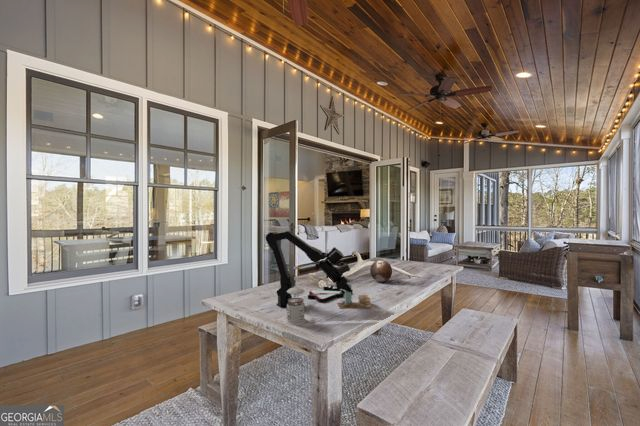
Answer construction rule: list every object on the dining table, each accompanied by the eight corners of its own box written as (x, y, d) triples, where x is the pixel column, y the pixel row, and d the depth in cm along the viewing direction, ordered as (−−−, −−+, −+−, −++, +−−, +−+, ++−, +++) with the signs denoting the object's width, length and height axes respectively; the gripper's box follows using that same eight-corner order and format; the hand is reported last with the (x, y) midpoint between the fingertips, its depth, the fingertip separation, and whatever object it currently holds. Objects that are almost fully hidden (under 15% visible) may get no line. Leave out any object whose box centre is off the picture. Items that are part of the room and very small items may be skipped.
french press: (284, 325, 134) (284, 268, 133) (285, 316, 145) (285, 263, 145) (306, 325, 134) (306, 268, 134) (306, 315, 146) (306, 263, 145)
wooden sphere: (370, 283, 207) (370, 261, 207) (369, 278, 222) (369, 258, 222) (393, 284, 205) (393, 262, 205) (391, 279, 220) (391, 258, 219)
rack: (339, 311, 152) (339, 300, 152) (337, 305, 162) (337, 294, 162) (371, 310, 153) (371, 299, 153) (366, 304, 163) (366, 293, 163)
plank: (345, 306, 156) (345, 284, 156) (344, 304, 158) (344, 283, 158) (351, 306, 156) (351, 284, 156) (350, 304, 159) (350, 283, 159)
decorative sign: (356, 288, 183) (325, 300, 160) (356, 294, 183) (325, 307, 160) (331, 283, 195) (299, 294, 171) (331, 289, 195) (299, 300, 171)
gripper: (343, 261, 147) (366, 284, 148) (338, 255, 166) (358, 275, 167) (327, 278, 147) (349, 300, 148) (323, 270, 165) (343, 290, 166)
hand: (350, 290), depth 157 cm, fingers closed on plank, 2 cm apart
